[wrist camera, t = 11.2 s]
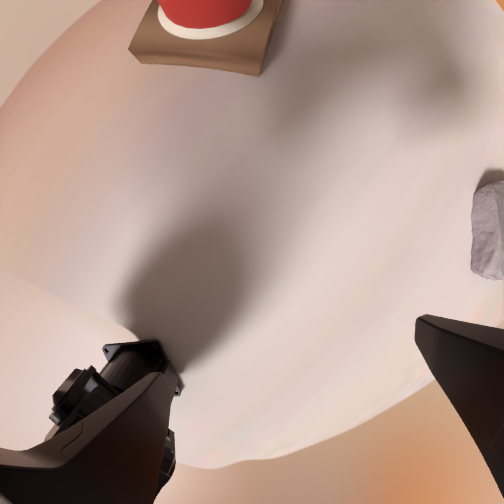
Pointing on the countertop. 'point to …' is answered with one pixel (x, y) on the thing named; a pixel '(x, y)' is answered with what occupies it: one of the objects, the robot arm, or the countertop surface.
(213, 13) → the beer can
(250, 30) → the walnut pedestal
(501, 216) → the stone block
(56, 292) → the countertop surface
